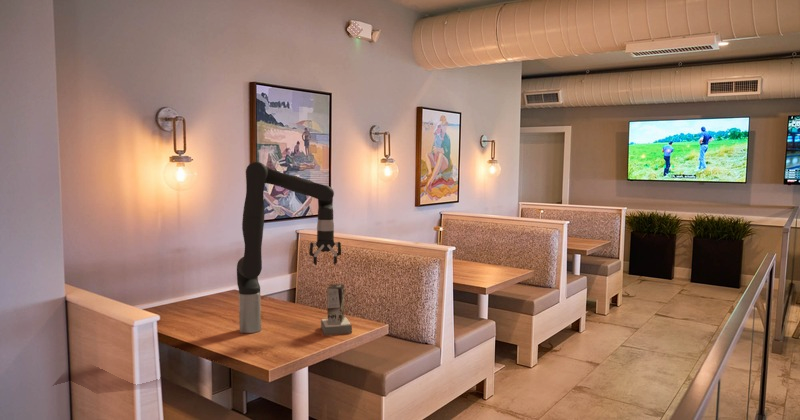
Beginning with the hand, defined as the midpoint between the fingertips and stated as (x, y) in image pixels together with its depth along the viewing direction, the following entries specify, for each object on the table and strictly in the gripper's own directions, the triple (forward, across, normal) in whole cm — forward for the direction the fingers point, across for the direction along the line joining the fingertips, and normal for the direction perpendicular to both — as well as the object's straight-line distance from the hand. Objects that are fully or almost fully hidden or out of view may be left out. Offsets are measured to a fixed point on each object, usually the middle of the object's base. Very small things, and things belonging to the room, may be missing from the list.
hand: (325, 264), depth 256 cm
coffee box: (+25, +4, -8) cm, 26 cm away
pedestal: (+28, +4, -8) cm, 30 cm away
